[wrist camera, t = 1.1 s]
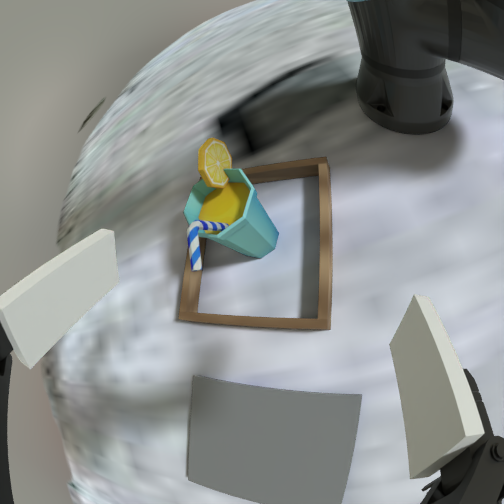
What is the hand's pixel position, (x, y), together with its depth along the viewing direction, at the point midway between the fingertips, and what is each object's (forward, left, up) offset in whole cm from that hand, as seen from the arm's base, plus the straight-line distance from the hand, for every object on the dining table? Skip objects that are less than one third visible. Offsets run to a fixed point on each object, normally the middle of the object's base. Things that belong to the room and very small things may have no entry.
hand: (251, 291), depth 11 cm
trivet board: (+16, -6, -20) cm, 26 cm away
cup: (-9, -9, -21) cm, 24 cm away
